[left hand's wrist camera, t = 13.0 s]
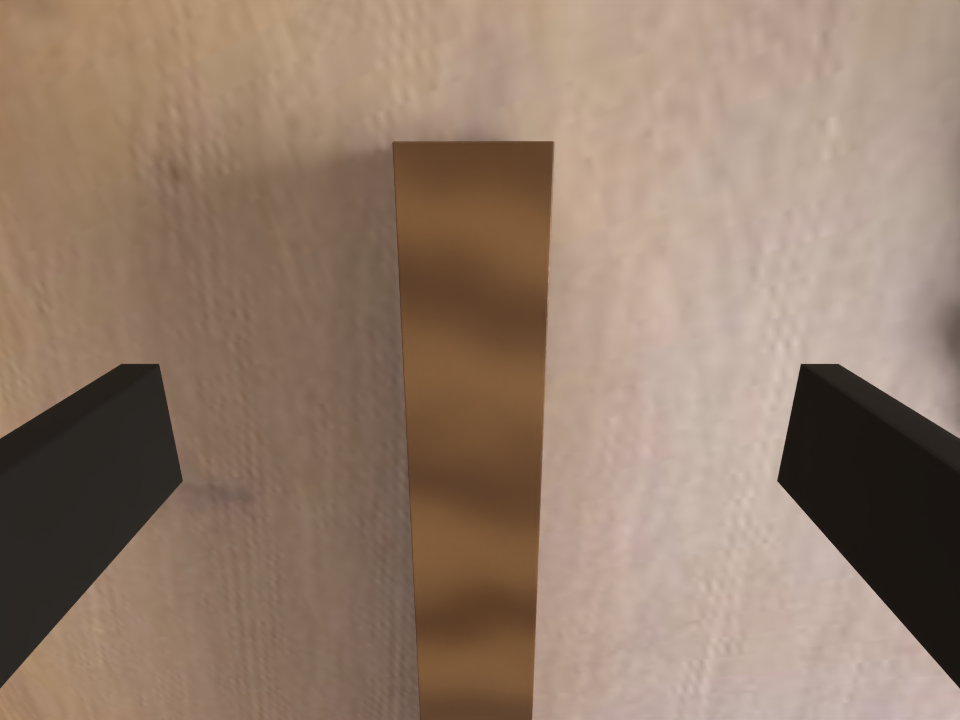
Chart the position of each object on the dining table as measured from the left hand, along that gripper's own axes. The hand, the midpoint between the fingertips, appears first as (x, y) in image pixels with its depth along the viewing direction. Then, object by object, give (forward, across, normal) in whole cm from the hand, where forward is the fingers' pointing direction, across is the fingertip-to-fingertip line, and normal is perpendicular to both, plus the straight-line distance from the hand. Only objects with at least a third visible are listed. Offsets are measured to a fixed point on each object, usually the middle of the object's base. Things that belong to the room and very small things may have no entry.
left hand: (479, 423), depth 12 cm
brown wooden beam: (+20, 0, -22) cm, 30 cm away
